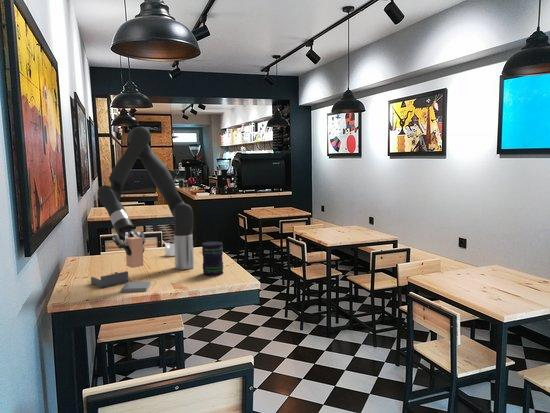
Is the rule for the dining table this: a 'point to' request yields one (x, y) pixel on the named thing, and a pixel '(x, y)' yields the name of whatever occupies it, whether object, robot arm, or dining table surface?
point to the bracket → (169, 249)
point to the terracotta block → (135, 252)
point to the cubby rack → (110, 280)
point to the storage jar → (212, 258)
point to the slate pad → (136, 286)
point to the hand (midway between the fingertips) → (136, 253)
